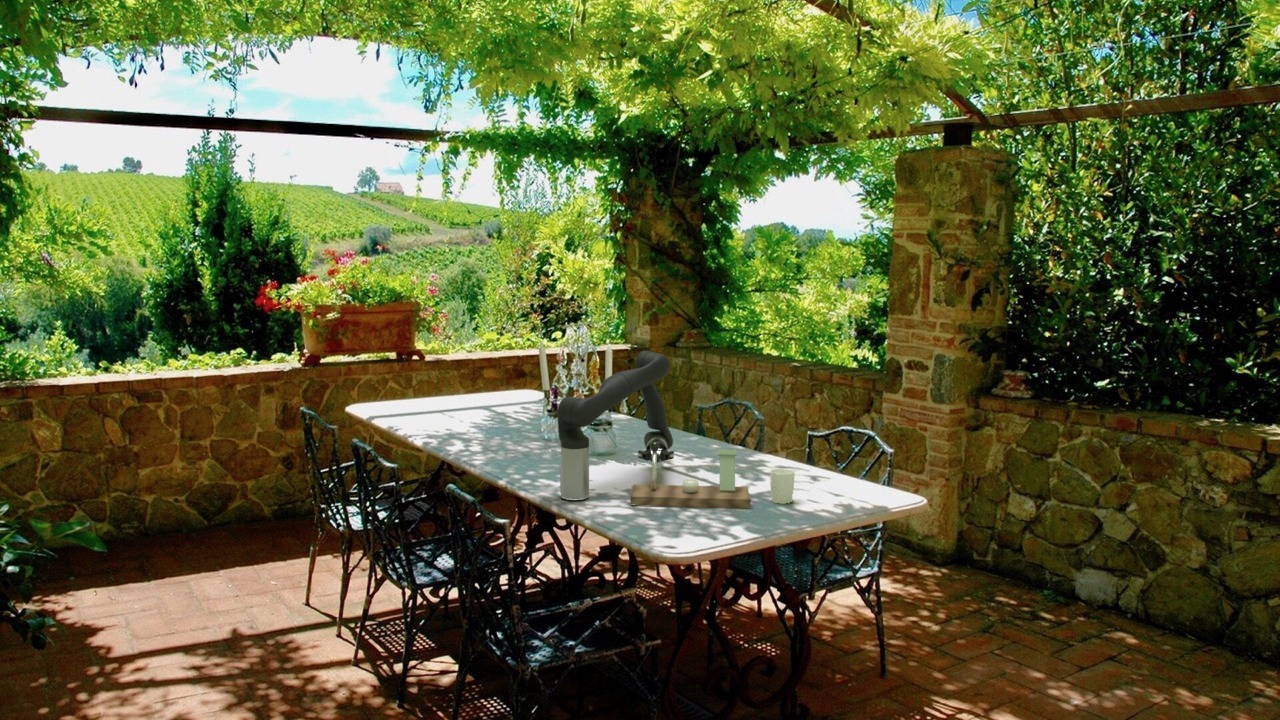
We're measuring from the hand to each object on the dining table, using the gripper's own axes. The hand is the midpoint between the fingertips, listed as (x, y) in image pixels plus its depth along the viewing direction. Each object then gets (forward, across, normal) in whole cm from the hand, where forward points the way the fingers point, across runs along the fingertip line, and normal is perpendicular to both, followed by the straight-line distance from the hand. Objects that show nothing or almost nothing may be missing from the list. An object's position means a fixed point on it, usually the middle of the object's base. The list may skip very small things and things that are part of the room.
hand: (654, 460), depth 323 cm
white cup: (+8, +42, +11) cm, 44 cm away
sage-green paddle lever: (+10, +24, +8) cm, 27 cm away
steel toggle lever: (+10, 0, +8) cm, 13 cm away
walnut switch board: (+10, +12, +11) cm, 19 cm away
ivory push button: (+10, +12, +8) cm, 18 cm away
